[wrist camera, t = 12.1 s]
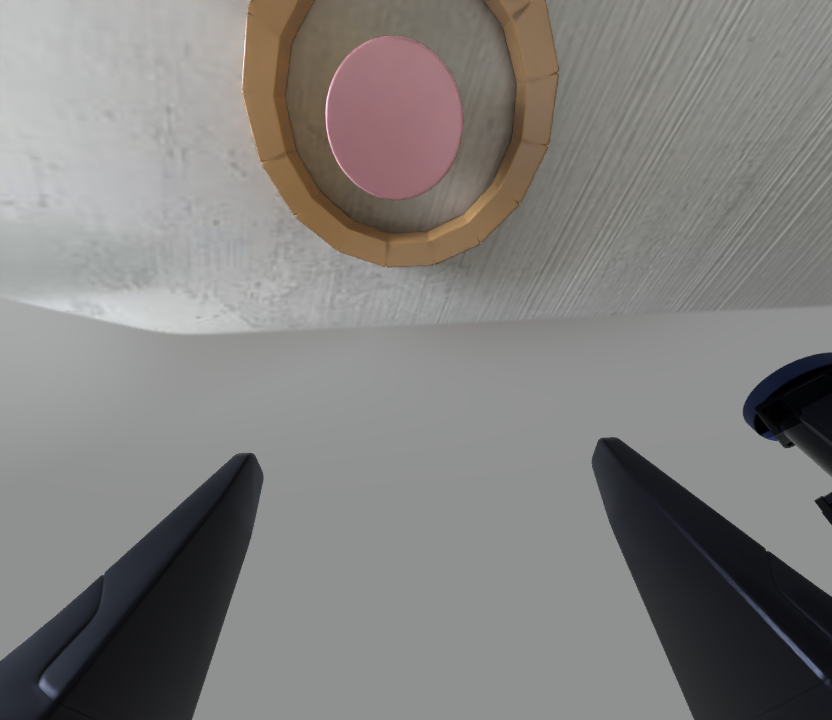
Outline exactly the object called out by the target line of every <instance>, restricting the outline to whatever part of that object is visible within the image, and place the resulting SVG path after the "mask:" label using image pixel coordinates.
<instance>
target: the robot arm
mask: <svg viewBox="0 0 832 720" xmlns="http://www.w3.org/2000/svg"><path fill="white" fill-rule="evenodd" d="M754 410H755V412H756V413H757V414H758V416H759V417H760V418H761V420H762V421H763V422H764V423H765V425H766V426H767V427H768V429H769V430H770V431H771V433H772V434H773V435H774V436H775V438H776V439H777V440H778V442H779V443H780V444H781V445H782V446H783V447H785V448H790V447H793V446H795V445H796V446H797V447H798V448H800V449H801V450H802V451H803V452H804V453H805V454H806V455H807V456H808V457H810V458H811V459H812V460H813V461H814V462H815V463H816V464H817V465H819V466H820V467H821V468H822V469H823V470H824V471H825V472H827V473H828V474H829V475H830V476H831V477H832V366H831V367H829V368H827V369H825V370H823V371H821V372H820V373H818V374H816V375H814V376H812V377H810V378H808V379H806V380H804V381H802V382H800V383H799V384H797V385H795V386H793V387H791V388H789V389H787V390H785V391H783V392H781V393H780V394H778V395H776V396H774V397H772V398H770V399H768V400H766V401H764V402H762V403H761V404H759V405H757V406H756V407H755V409H754ZM592 468H593V471H594V474H595V477H596V480H597V484H598V487H599V490H600V494H601V497H602V500H603V503H604V506H605V510H606V513H607V516H608V519H609V522H610V525H611V527H612V530H613V532H614V535H615V537H616V539H617V542H618V544H619V546H620V549H621V551H622V553H623V556H624V558H625V560H626V562H627V565H628V567H629V570H630V572H631V574H632V577H633V579H634V581H635V583H636V586H637V588H638V590H639V593H640V595H641V597H642V600H643V602H644V604H645V607H646V609H647V611H648V613H649V616H650V618H651V621H652V623H653V625H654V628H655V630H656V632H657V634H658V637H659V639H660V642H661V644H662V646H663V648H664V651H665V653H666V655H667V658H668V660H669V662H670V665H671V667H672V669H673V672H674V674H675V676H676V679H677V681H678V683H679V686H680V688H681V690H682V693H683V695H684V697H685V700H686V702H687V704H688V706H689V709H690V711H691V713H692V716H693V718H694V720H832V597H831V596H830V595H829V594H827V593H826V592H824V591H823V590H821V589H820V588H818V587H817V586H816V585H814V584H813V583H812V582H810V581H809V580H807V579H806V578H805V577H803V576H802V575H801V574H799V573H798V572H796V571H795V570H794V569H792V568H791V567H790V566H788V565H787V564H786V563H784V562H783V561H781V560H780V559H779V558H778V557H776V556H775V555H774V554H772V553H771V552H769V551H766V549H765V548H764V547H763V546H761V545H760V544H759V543H757V542H756V541H755V540H753V539H752V538H751V537H749V536H748V535H747V534H745V533H744V532H743V531H741V530H740V529H739V528H737V527H736V526H735V525H733V524H732V523H731V522H729V521H728V520H726V519H725V518H724V517H723V516H721V515H720V514H719V513H717V512H716V511H715V510H713V509H712V508H711V507H709V506H708V505H706V504H705V503H704V502H703V501H701V500H700V499H699V498H697V497H696V496H695V495H693V494H692V493H691V492H689V491H688V490H687V489H685V488H684V487H682V486H681V485H680V484H679V483H677V482H676V481H675V480H673V479H672V478H670V477H669V476H668V475H666V474H665V473H664V472H662V471H661V470H660V469H658V468H657V467H656V466H654V465H653V464H651V463H650V462H649V461H648V460H646V459H645V458H644V457H642V456H641V455H640V454H638V453H637V452H636V451H634V450H633V449H632V448H630V447H629V446H628V445H626V444H625V443H624V442H622V441H621V440H620V439H618V438H615V437H611V438H600V439H599V440H598V442H597V446H596V448H595V451H594V454H593V457H592ZM262 484H263V472H262V469H261V467H260V465H259V463H258V461H257V458H256V456H255V455H254V454H253V453H239V454H236V455H235V456H233V457H232V458H231V459H230V460H229V461H228V462H227V463H226V464H224V465H223V466H222V467H221V468H220V469H219V470H218V471H217V472H216V473H215V474H213V475H212V476H211V477H210V478H209V479H208V480H207V481H206V482H205V483H203V484H202V485H201V486H200V487H199V488H198V489H197V490H196V491H195V492H193V493H192V494H191V495H190V496H189V497H188V498H187V499H186V500H185V501H183V502H182V503H181V504H180V505H179V506H178V507H177V508H176V509H175V510H173V511H172V512H171V513H170V514H169V515H168V516H167V517H166V518H165V519H163V520H162V521H161V522H160V523H159V524H158V525H157V526H156V527H155V528H154V529H152V530H151V531H150V532H149V533H148V534H147V535H146V536H145V537H144V538H142V539H141V540H140V541H139V542H138V543H137V544H136V545H135V546H134V547H132V548H131V549H130V550H129V551H128V552H127V553H126V554H125V555H124V556H122V557H121V558H120V559H119V560H118V561H117V562H116V563H115V564H114V565H112V566H111V567H110V568H109V569H108V570H107V571H106V572H105V574H104V575H102V576H100V577H99V578H98V579H97V580H96V581H95V582H94V583H92V584H91V585H90V586H89V587H88V588H87V589H86V590H85V591H83V592H82V593H81V594H80V595H79V596H78V597H77V598H75V599H74V600H73V601H72V602H71V603H70V604H69V605H67V607H65V608H64V609H63V610H62V611H61V612H60V613H58V614H57V615H56V616H55V617H54V618H53V619H51V620H50V621H49V622H48V623H46V624H45V625H44V626H43V627H41V628H40V629H39V630H38V631H37V632H35V633H34V634H33V635H32V636H31V637H30V638H28V639H27V640H26V641H25V642H23V643H22V644H21V645H20V646H18V647H17V648H16V649H15V650H13V651H12V652H11V653H10V654H9V655H7V656H6V657H5V658H4V659H2V660H1V661H0V720H192V718H193V715H194V712H195V709H196V705H197V702H198V699H199V696H200V693H201V690H202V687H203V684H204V681H205V678H206V675H207V671H208V669H209V665H210V662H211V659H212V656H213V653H214V650H215V647H216V644H217V641H218V638H219V635H220V632H221V629H222V626H223V622H224V620H225V616H226V613H227V610H228V607H229V604H230V601H231V598H232V595H233V592H234V589H235V586H236V583H237V579H238V576H239V573H240V570H241V567H242V564H243V561H244V558H245V555H246V552H247V549H248V545H249V542H250V539H251V535H252V531H253V527H254V522H255V517H256V513H257V508H258V503H259V498H260V494H261V489H262ZM815 502H816V504H817V505H818V506H819V508H820V509H821V510H822V513H823V515H824V516H825V517H826V518H827V520H828V521H829V522H830V523H831V525H832V492H831V493H829V494H828V495H826V496H824V497H823V496H821V497H820V498H818V499H816V500H815Z"/></svg>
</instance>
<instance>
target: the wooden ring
mask: <svg viewBox="0 0 832 720" xmlns="http://www.w3.org/2000/svg"><path fill="white" fill-rule="evenodd" d="M313 1H314V0H251V2H250V4H249V6H248V9H247V10H248V11H249V12H250V13H249V12H247V14H246V29H245V44H244V59H243V74H242V91H243V93H242V96H243V100H244V104H245V108H246V111H247V115H248V119H249V123H250V127H251V130H252V134H253V138H254V142H255V146H256V149H257V153H258V157H259V160H260V161H261V162H262V163H261V165H262V166H263V168H264V170H265V171H266V173H267V174H268V176H269V177H270V179H271V181H272V182H273V184H274V185H275V187H276V188H277V190H278V191H279V193H280V195H281V196H282V198H283V199H284V201H285V202H286V204H287V206H288V207H289V209H290V210H291V212H292V213H293V215H296V216H295V217H296V218H297V219H298V220H299V221H301V222H302V223H303V224H304V225H306V226H307V227H308V228H309V229H311V230H312V231H313V232H314V233H316V234H317V235H318V236H319V237H321V238H322V239H323V240H324V241H326V242H327V243H328V244H329V245H331V246H332V247H333V248H334V249H336V250H337V251H338V250H339V252H341V253H344V254H347V255H350V256H353V257H356V258H359V259H362V260H365V261H368V262H371V263H374V264H377V265H380V266H383V267H385V266H386V267H406V266H425V265H434V263H435V264H438V263H440V262H442V261H444V260H446V259H449V258H451V257H453V256H455V255H457V254H459V253H462V252H464V251H466V250H468V249H470V248H473V247H475V246H477V245H479V244H480V242H483V241H484V240H485V239H486V238H487V237H488V236H489V235H490V234H491V233H492V232H493V231H494V230H495V229H496V228H497V227H498V226H499V225H500V224H501V223H502V222H503V221H504V220H505V219H506V218H507V217H508V216H509V215H510V214H511V213H512V212H513V211H514V210H515V209H516V208H517V207H518V206H519V202H522V200H523V198H524V196H525V194H526V192H527V190H528V188H529V186H530V183H531V181H532V179H533V177H534V175H535V173H536V171H537V169H538V167H539V165H540V163H541V161H542V159H543V157H544V155H545V153H546V151H547V149H548V146H547V145H548V144H549V142H550V135H551V128H552V120H553V113H554V106H555V99H556V92H557V84H558V77H559V75H558V73H557V72H558V71H559V66H558V61H557V56H556V51H555V46H554V40H553V35H552V30H551V25H550V20H549V15H548V9H547V4H546V0H484V1H485V3H486V4H487V6H488V7H489V8H490V10H491V11H492V13H493V14H494V15H495V17H496V18H497V20H498V21H499V22H500V24H501V25H502V27H503V29H504V33H505V38H506V42H507V46H508V50H509V54H510V58H511V62H512V66H513V70H514V74H515V78H516V82H517V92H516V103H515V115H514V126H513V138H512V140H511V142H510V145H509V147H508V149H507V152H506V154H505V156H504V159H503V161H502V163H501V165H500V168H499V170H498V172H497V175H496V177H495V179H494V182H493V183H492V184H491V185H490V187H489V188H488V189H487V190H486V191H485V192H484V193H483V194H482V195H481V196H480V197H479V198H478V199H477V200H476V202H475V203H474V204H473V205H472V206H471V207H470V208H469V209H468V210H467V211H466V212H465V213H464V214H463V215H461V216H459V217H457V218H455V219H453V220H451V221H449V222H447V223H445V224H443V225H440V226H438V227H436V228H434V229H432V230H430V231H428V232H410V233H391V234H390V233H387V232H384V231H381V230H378V229H376V228H373V227H370V226H367V225H364V224H361V223H359V222H356V221H353V220H352V219H351V218H350V217H348V216H347V215H346V214H345V213H344V212H343V211H341V210H340V209H339V208H338V207H337V206H336V205H334V204H333V203H332V202H331V201H330V200H329V199H327V198H326V197H325V196H324V195H323V194H322V193H320V191H319V189H318V188H317V186H316V184H315V183H314V181H313V179H312V177H311V176H310V174H309V172H308V170H307V169H306V167H305V165H304V164H303V162H302V160H301V158H300V157H299V155H298V153H297V151H296V148H295V143H294V138H293V134H292V129H291V124H290V119H289V114H288V110H287V105H286V100H285V94H286V86H287V78H288V70H289V62H290V54H291V46H292V40H293V38H294V37H295V35H296V33H297V31H298V29H299V27H300V26H301V24H302V22H303V20H304V18H305V16H306V14H307V13H308V11H309V9H310V7H311V5H312V3H313Z"/></svg>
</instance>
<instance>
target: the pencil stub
mask: <svg viewBox="0 0 832 720" xmlns="http://www.w3.org/2000/svg"><path fill="white" fill-rule="evenodd" d="M325 121H326V130H327V135H328V140H329V143H330V146H331V149H332V152H333V154H334V156H335V158H336V160H337V162H338V164H339V165H340V167H341V169H342V170H343V171H344V173H345V174H346V175H347V176H348V177H349V178H350V179H351V180H352V181H353V182H354V183H355V184H356V185H357V186H358V187H360V188H361V189H363V190H364V191H366V192H368V193H370V194H372V195H374V196H377V197H380V198H383V199H389V200H404V199H410V198H413V197H417V196H419V195H421V194H423V193H425V192H427V191H428V190H430V189H432V188H433V187H434V186H435V185H437V184H438V183H439V182H440V181H441V180H442V179H443V177H444V176H445V175H446V174H447V172H448V171H449V169H450V168H451V166H452V164H453V162H454V160H455V158H456V156H457V153H458V150H459V147H460V144H461V139H462V133H463V109H462V102H461V98H460V94H459V90H458V88H457V85H456V83H455V80H454V78H453V76H452V74H451V73H450V71H449V69H448V68H447V66H446V65H445V64H444V62H443V61H442V60H441V59H440V58H439V57H438V56H437V55H436V54H435V53H434V52H433V51H432V50H430V49H429V48H428V47H427V46H425V45H423V44H421V43H420V42H418V41H415V40H412V39H410V38H406V37H401V36H383V37H378V38H375V39H372V40H369V41H367V42H365V43H363V44H361V45H360V46H358V47H357V48H356V49H354V50H353V51H352V52H351V53H350V54H349V55H348V56H347V57H346V58H345V59H344V60H343V62H342V63H341V65H340V66H339V67H338V69H337V71H336V73H335V75H334V77H333V79H332V82H331V85H330V87H329V91H328V95H327V101H326V109H325Z"/></svg>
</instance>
